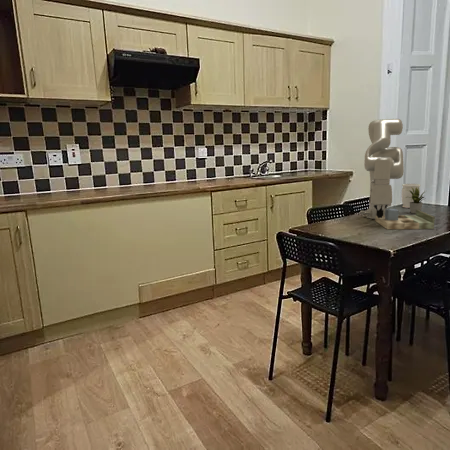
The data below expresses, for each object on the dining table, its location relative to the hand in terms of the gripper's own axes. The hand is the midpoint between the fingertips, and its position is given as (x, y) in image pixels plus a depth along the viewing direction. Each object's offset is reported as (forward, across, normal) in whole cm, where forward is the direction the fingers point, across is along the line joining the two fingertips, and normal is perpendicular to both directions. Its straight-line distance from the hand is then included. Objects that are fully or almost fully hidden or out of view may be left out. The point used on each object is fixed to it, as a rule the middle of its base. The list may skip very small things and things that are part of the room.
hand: (379, 217), depth 193 cm
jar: (+4, +34, +53) cm, 63 cm away
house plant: (+4, +30, +34) cm, 45 cm away
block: (+1, +6, 0) cm, 6 cm away
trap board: (+4, +12, 0) cm, 13 cm away
